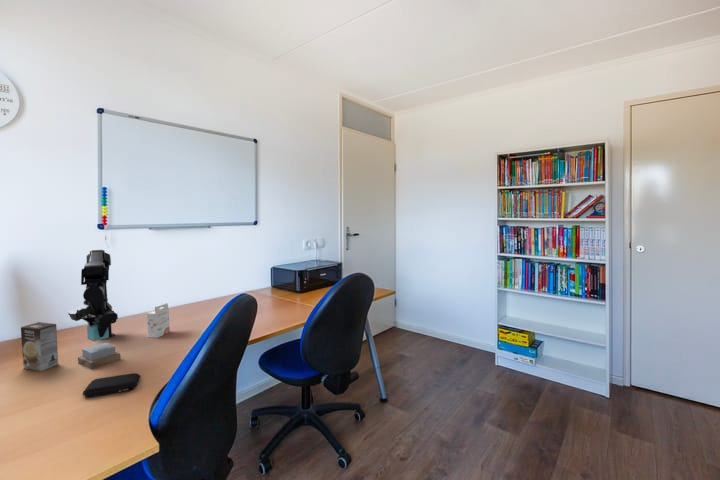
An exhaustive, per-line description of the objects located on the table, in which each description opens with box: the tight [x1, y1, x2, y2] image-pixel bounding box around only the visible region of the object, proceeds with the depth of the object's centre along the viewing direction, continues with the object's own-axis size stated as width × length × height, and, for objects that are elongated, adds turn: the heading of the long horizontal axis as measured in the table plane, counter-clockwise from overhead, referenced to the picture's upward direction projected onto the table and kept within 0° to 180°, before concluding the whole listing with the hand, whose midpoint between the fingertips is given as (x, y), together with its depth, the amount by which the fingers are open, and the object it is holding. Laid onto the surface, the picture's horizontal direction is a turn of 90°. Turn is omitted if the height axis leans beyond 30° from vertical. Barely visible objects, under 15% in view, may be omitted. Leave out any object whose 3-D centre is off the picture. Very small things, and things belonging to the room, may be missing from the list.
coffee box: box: [20, 321, 59, 372], centre depth 129 cm, size 9×6×16 cm
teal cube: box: [86, 325, 110, 342], centre depth 133 cm, size 5×5×5 cm
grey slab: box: [81, 342, 116, 361], centre depth 134 cm, size 8×8×3 cm
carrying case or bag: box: [82, 372, 142, 398], centre depth 113 cm, size 11×3×15 cm
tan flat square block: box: [77, 351, 121, 370], centre depth 134 cm, size 10×10×3 cm
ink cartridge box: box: [146, 303, 171, 339], centre depth 163 cm, size 9×5×15 cm, turn 168°
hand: (98, 335), depth 134 cm, fingers closed on teal cube, 5 cm apart
